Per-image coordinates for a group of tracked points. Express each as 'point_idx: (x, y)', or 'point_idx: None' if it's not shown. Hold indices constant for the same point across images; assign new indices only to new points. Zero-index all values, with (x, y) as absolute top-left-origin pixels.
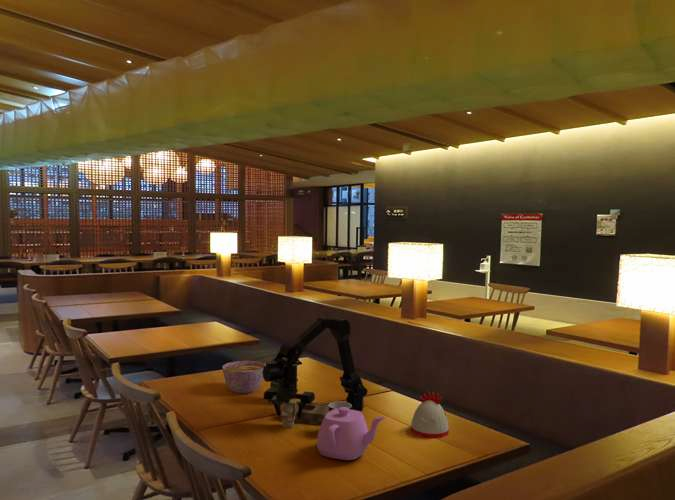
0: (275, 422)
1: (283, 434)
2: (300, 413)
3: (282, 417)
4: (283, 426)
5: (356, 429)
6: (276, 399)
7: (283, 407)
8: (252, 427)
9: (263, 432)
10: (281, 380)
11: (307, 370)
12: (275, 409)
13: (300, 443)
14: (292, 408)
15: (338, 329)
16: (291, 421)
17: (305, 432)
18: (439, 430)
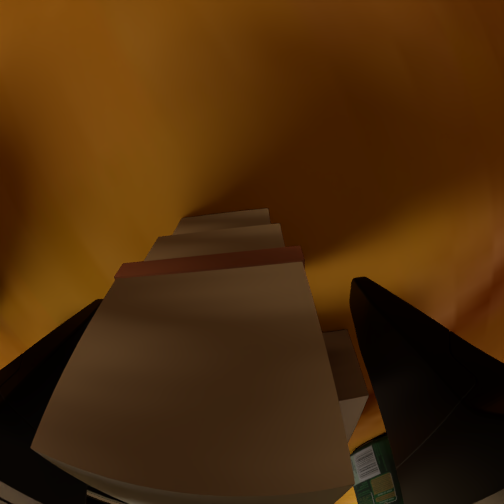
0: (376, 279)
1: (171, 38)
2: (40, 340)
3: (339, 347)
4: (266, 211)
5: None
6: (499, 488)
7: (284, 396)
8: (496, 122)
9: (388, 22)
10: None
11: (346, 500)
12: (445, 327)
13: (4, 12)
14: (61, 385)
15: None
16: (155, 245)
17: (40, 188)
18: None
